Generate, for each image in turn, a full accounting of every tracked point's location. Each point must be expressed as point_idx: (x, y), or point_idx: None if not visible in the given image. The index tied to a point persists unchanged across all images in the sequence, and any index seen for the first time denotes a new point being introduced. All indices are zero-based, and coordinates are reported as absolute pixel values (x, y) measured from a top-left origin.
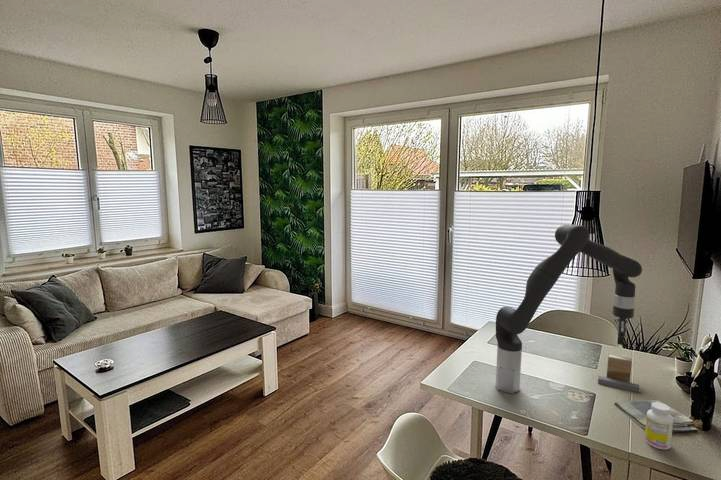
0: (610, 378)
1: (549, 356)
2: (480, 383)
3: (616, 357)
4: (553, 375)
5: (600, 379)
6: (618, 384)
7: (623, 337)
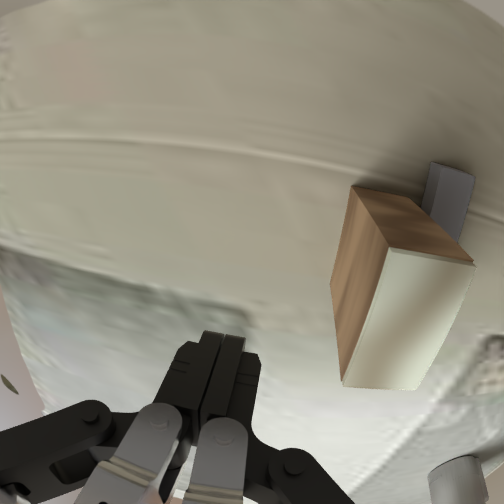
0: None
1: None
2: None
3: (429, 355)
4: (377, 428)
5: None
6: None
7: (227, 413)
